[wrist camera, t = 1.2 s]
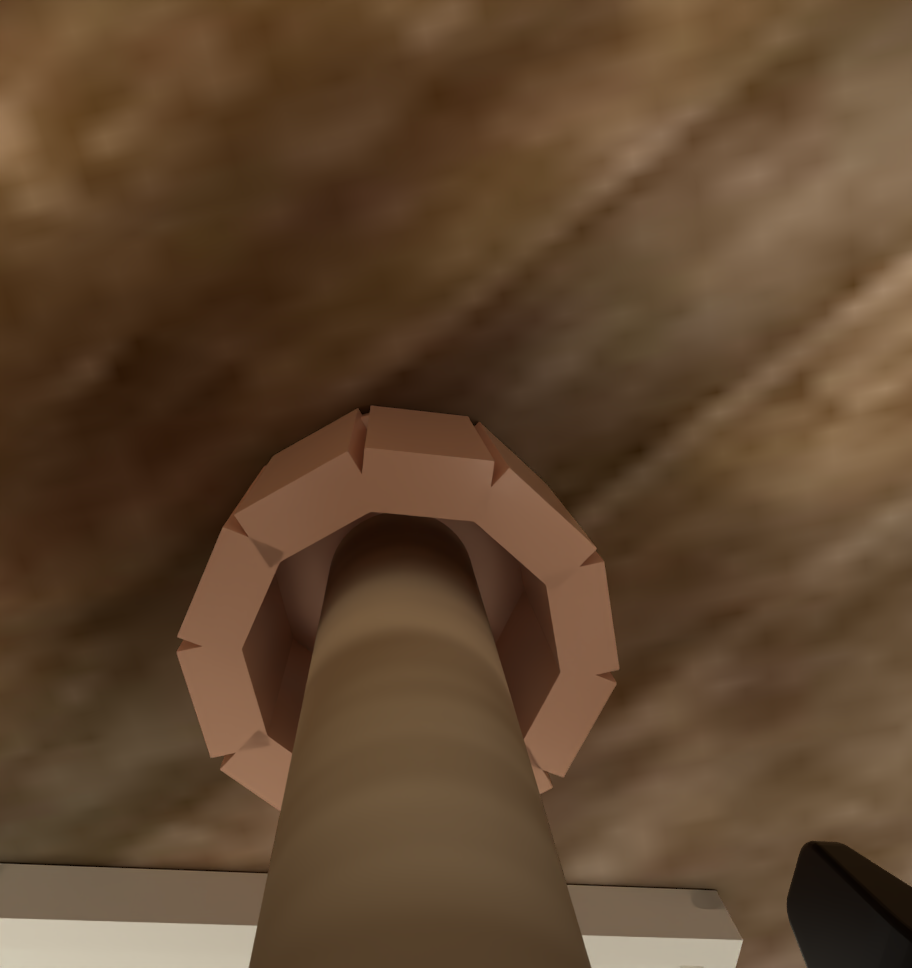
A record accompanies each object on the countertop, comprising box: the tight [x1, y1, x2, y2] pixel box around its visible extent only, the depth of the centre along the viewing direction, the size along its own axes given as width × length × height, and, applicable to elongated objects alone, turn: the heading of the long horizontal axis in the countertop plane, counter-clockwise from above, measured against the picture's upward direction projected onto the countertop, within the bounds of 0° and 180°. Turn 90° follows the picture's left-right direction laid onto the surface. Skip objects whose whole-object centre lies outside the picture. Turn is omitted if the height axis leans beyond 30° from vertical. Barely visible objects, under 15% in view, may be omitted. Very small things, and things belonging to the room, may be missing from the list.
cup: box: [176, 405, 620, 811], centre depth 14 cm, size 7×7×4 cm
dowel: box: [249, 513, 591, 968], centre depth 10 cm, size 3×3×11 cm
